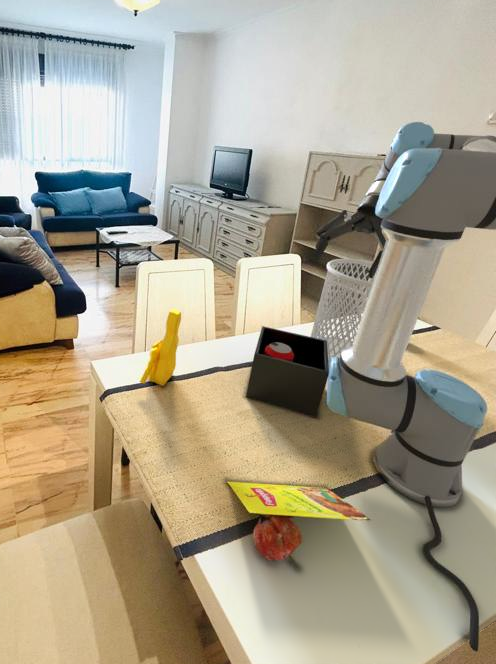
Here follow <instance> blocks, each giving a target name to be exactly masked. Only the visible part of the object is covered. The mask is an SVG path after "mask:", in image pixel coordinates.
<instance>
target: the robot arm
mask: <svg viewBox="0 0 496 664" xmlns="http://www.w3.org/2000/svg"><path fill="white" fill-rule="evenodd" d="M467 228H472V229H480V230H481V229H482V230H492V231H494V230H495V231H496V136H495V135H472V134H471V135H469V134H453V133H451V134H450V133H435V130H434V128H433V127H432V125H430V124H426V123H424V121H423V122H422V121H412V122H408V123H406V124H405V125H403V126H401V127H400V128H399V129H398V131H397V132H396V134H395V135H394V138H393V140H392V141H391V143H390V147H389V149H388V151H387V154H386V156H385V159H384V161H383V162H382V165H381V168H380V169H379V172H378V173H377V175H376V177H375V179H374V180H373V182H372V184H371V185H370V187H369V188H368V190H367V192H366V194H365V196H364V197H363V199H362V200H361V202H360V203H359V205H358V207H357V209H356V211H355V212H354V213H350V212H348V211H347V210H346V209H343V210H341V211H340V213H339V215H337V216H336V217H334V218H333V219H331V220H330V221H329V222H327V223H326V224H323V226H321V227H319V228H318V229H317V230H316V231H315V237H316V239H317V240H318V241H317V243H316V244H315V252H314V254H313V256H312V260H313V263H314V264H318V262H319V261H320V259H321V257H322V256H323V254H324V253H325V251H326V249H327V247H329V241H331V240H335V239H337V238H339V237H341V236H343V235H346V234H348V233H353V232H354V231H356V232H357V233H364V234H366V235H370V234H373V236H374V238H375V239H376V242H377V243H378V245H379V247H380V249H381V250H379V252H378V254H377V255H376V257H375V259H374V260H373V262H374V263H373V264H372V266H370V270H369V269H368V272H367V273H368V279H370V278H372V281H373V283H372V287H371V288H370V289H371V290H370V289H369V290H370V293H369V296H367V297H368V299H367V301H366V302H365V304H366V305H365V309H364V312H363V313H362V314H361V317H362V318H361V321H360V324H359V325H358V331H357V330H356V332H357V334H356V337H355V336H354V339H355V340H354V343H353V346H351V347H348V348H346V349H344V350H343V351H342V353H341V357H340V358H339V357H332V358H331V361H330V367H329V376H328V379H327V387H326V388H327V391H326V405H327V408H328V410H330V412H332V413H334V414H338V415H339V416H343V417H346V418H347V419H353V420H356V421H359V422H362V423H366V424H369V425H373V426H377V427H380V428H382V429H386V430H390V435H389V436H388V437H387V438H386V439H384V440H383V441H382V442H381V443H380V444H379V445H378V446H377V447H376V449H375V452H374V454H373V465H374V467H375V469H376V471H377V472H378V474H379V475H380V477H381V478H382V479H383V480H384V481H385V482H386V483H387V484H388V485H389V486H390V487H391V488H393V489H394V490H396V491H397V492H398V493H400V494H402V495H403V496H405V497H407V498H409V499H411V500H413V501H415V502H417V503H420V504H422V505H426V510H427V513H428V517H429V520H430V523H431V525H432V528H433V532H434V536H433V539H432V540H429V541H428V542H425V543H424V544H423V546H422V552H423V555H424V558H425V559H426V560H427V562H429V564H430V565H431V566H433V567H434V569H436V570H438V571H439V572H440V573H441V574H443V575H444V576H445V577H447V578H448V579H450V580H451V581H452V582H453V583H455V585H456V586H457V587H458V588H459V589H460V591H461V593H462V595H463V596H464V597H465V599H466V602H467V604H468V607H469V641H468V644H469V648H470V649H472V651H474V652H478V651H479V641H480V639H479V638H480V636H479V635H480V634H479V633H480V614H479V609H478V604H477V602H476V601H475V598H474V596H473V594H472V592H471V591H470V590H469V588H468V587H467V585H466V583H464V581H463V580H461V578H459V577H458V576H457V575H456V574H454V572H452V571H451V570H450V569H448V568H446V567H445V566H443V565H442V564H441V563H439V561H437V560H436V559H435V557H433V555H432V553H431V550H432V549H433V548H436V547H438V546H440V544H441V543H442V536H443V535H442V531H441V527H440V525H439V522H438V519H437V516H436V513H435V509H434V508H449V507H452V506H454V505H456V504H457V503H458V501H459V499H460V497H461V496H462V493H463V463H464V460H465V458H466V456H467V455H468V453H469V451H470V449H471V447H472V445H473V443H474V441H475V439H476V437H477V435H478V434H479V431H480V429H482V427H483V426H484V421H485V418H486V415H487V413H488V404H487V402H486V400H485V399H484V397H483V396H482V395H481V394H480V393H479V392H478V391H477V390H476V389H474V388H473V387H471V386H470V385H469V384H468V383H466V382H464V381H463V380H461V379H459V378H457V377H455V376H453V375H451V374H447V373H445V372H443V371H439V370H436V369H420V370H418V372H416V373H415V375H414V376H412V375H408V374H407V368H406V366H405V365H404V364H403V362H402V360H403V358H404V355H405V353H406V350H407V347H408V345H409V342H410V340H411V338H412V334H413V332H414V330H415V327H416V324H417V321H418V319H419V316H420V314H421V311H422V309H423V306H424V303H425V300H426V298H427V295H428V293H429V290H430V288H431V285H432V283H433V280H434V277H435V275H436V273H437V269H438V267H439V264H440V261H441V259H442V256H443V254H444V251H445V249H446V248H447V247H448V246H450V245H452V244H455V243H456V242H459V241H460V240H461V239H462V238H463V237H462V236H463V234H464V231H465V229H467ZM382 231H383V232H384V233H383V232H382ZM384 234H385V235H386V237H385V235H384ZM375 273H376V274H375ZM374 274H375V276H374ZM373 276H374V277H373Z"/></svg>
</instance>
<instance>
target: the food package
mask: <svg viewBox="0 0 496 664" xmlns="http://www.w3.org/2000/svg"><path fill="white" fill-rule="evenodd" d="M227 484H228V485H229V487H230V488H231V490H232V491H233V492H234V493H235V496H237V498H238V499H239V501H240V502H241V503H242V505H243V506H244V507H245V509H246V510H247V512H248V513H249V514H255V513H258V514H262V515H267V514H270V515H285V516H287V517H302V518H317V519H319V518H320V519H331V520H332V519H334V520H347V521H365V522H372V518H371V519H370V518H369V517H368V516H366V515H365V514H364V513H362V512H361V511H359V509H357V508H356V507H354V506H353V505H351V504H350V503H349V502H347V501H346V500H344V499H343V498H342V497H340V496H339V495H338V494H336V493H334V492H333V491H332V490H330V489H328V488H327V487H315V486H314V487H313V486H299V485H285V484H284V485H283V484H271V483H270V484H269V483H268V484H267V483H254V482H237V481H227Z"/></svg>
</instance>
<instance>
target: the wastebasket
mask: <svg viewBox="0 0 496 664" xmlns="http://www.w3.org/2000/svg"><path fill="white" fill-rule="evenodd" d="M373 263H374V261H371V260H366V259H358V258H357V259H355V258H337V259H332V260H330V261H328V262H327V264H326V270H327V271H326V275H325V279H324V283H323V287H322V291H321V295H320V298H319V302H318V306H317V310H316V313H315V318H314V322H313V326H312V330H311V333H310V337H313V338H317V339H322V340H326V341H327V348H328V362H329V367H330V361H331V358H332V357H339V358H340V357H341V353H342V351H343V350H344V349H346V348H348V347H351V346H353V343H354V340H355V337H356V334H357V331H358V328H359V324H360V321H361V318H362V315H363V312H364V309H365V305H366V302H367V299H368V296H369V293H370V290H371V287H372V283H373V278H374V277H375V274H376V273H375V274H374V276H373V278H368V280H367V277H368V276H369V274H368V272H366V270H367V268H368V271H369V270H370V268H371V266H372V264H373ZM344 267H345V269H343V268H344ZM349 267H350V270H348V269H349ZM355 267H356V269H355V271H354V268H355ZM361 267H362V270H361V271H360V269H361ZM345 273H346V274H345ZM356 273H357V276H356V277H355V274H356ZM350 274H351V276H350ZM362 274H363V277H362V278H361V275H362ZM351 287H352V289H351ZM358 287H359V289H358V291H357V288H358ZM365 289H366V290H365ZM364 290H365V291H364ZM359 295H360V297H359ZM336 315H337V316H336ZM337 320H338V321H337ZM357 320H358V321H357ZM333 326H334V327H333ZM334 332H335V333H334ZM345 332H346V333H345ZM333 333H334V334H333Z"/></svg>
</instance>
